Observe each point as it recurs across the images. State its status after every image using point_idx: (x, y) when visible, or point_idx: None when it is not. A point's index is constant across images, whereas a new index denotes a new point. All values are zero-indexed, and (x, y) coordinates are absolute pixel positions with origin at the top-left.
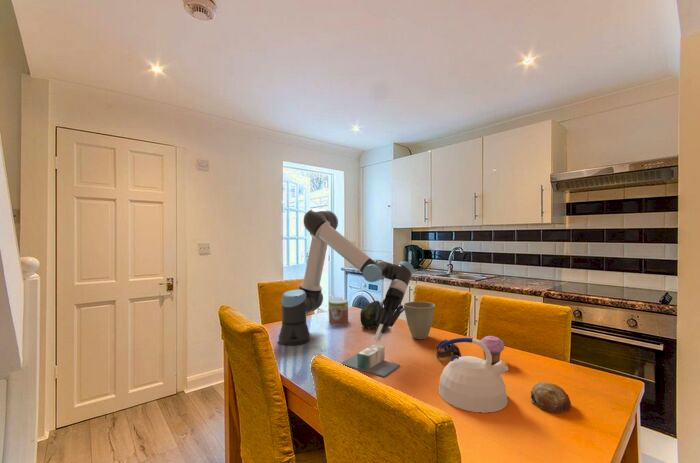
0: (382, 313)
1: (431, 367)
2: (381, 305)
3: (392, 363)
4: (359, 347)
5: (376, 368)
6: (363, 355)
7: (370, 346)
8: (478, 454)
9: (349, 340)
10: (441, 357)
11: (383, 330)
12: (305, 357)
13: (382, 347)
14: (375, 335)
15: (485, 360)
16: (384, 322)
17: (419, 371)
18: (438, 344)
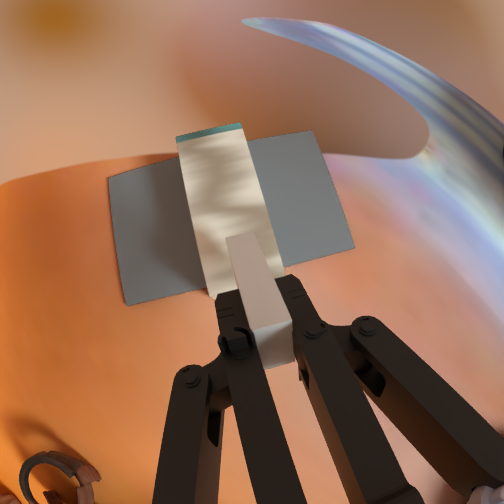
0: (371, 432)
1: (51, 380)
2: (485, 501)
3: (155, 288)
4: (413, 315)
5: (169, 197)
6: (203, 130)
7: (272, 235)
8: None
9: (482, 328)
10: (57, 452)
11: (221, 305)
12: (420, 107)
13: (209, 277)
14: (254, 242)
15: (14, 497)
16: (229, 336)
17: (54, 318)
18: (78, 502)
